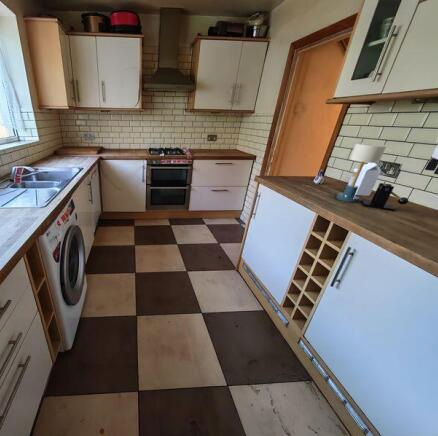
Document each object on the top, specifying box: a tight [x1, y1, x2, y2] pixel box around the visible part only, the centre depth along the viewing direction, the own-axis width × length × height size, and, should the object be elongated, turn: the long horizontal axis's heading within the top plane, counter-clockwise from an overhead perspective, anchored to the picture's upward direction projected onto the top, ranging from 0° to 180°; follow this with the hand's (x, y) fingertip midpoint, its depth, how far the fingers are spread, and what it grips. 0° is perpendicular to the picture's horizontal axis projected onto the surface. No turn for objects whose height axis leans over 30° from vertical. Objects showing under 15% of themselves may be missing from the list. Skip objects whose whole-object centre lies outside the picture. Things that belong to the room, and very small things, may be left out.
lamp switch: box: [380, 183, 409, 205], centre depth 116 cm, size 13×4×4 cm
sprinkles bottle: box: [347, 167, 359, 185], centre depth 144 cm, size 5×5×13 cm
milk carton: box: [355, 162, 381, 197], centre depth 135 cm, size 7×7×19 cm
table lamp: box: [335, 142, 387, 203], centre depth 123 cm, size 12×12×30 cm
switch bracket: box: [359, 182, 396, 212], centre depth 118 cm, size 12×9×12 cm
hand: (433, 172), depth 106 cm, fingers open, 9 cm apart
